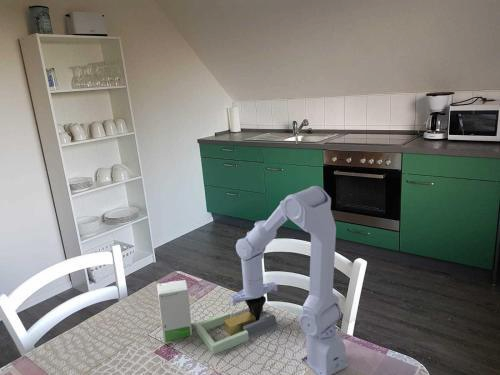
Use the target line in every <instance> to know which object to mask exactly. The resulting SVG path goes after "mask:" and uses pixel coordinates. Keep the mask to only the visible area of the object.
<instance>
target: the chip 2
mask: <svg viewBox="0 0 500 375" xmlns="http://www.w3.org/2000/svg"><path fill="white" fill-rule="evenodd" d="M237 317H238V318H239V319H240V320H241V321H242V322H243V326H245V325H248V324H251V323H253V322H256V318H255V317H254V316H253V315H252V314H251V313H250V312H249V311H247V312H245V313H242V314H239V315H237Z"/></svg>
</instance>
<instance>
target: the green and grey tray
mask: <svg viewBox="0 0 500 375" xmlns="http://www.w3.org/2000/svg"><path fill="white" fill-rule="evenodd" d="M247 311H249V312H250V309H249V307H248V308H245V309H242V310H239V311H237V312H234V313H232V314H231V312H229V311H226V312H224V313H221V314H219V315H216V316H213V317H211V318H207V319H205V320H202V321H200V322H197V323H195V324H194V325H195V332H196V333H197V335H198V336H199V338H200V339H201V340H202V341H203V343H204V345H206V347H207V348H208V350H209V351H210V352H211V354H212V355H217V354H219V353H221V352H223V351H225V350H228V349H231V348H233V347H235V346H238V345H240V344H243V343H245V342H247V341H250V340H253V339H255V338H257V337H260V336H263V335H264V334H267V333H269V332H272V331H274V330H277V329H280V326H279V325H278V324H277V317H276V315H275V314H271V315H266V313H264V306H263V307H262V310H261V314H260V319H259V320H258V321H256V322H253V323H251V324H248V325H245V326H243V331H242V332H240V333H237V334H235V335H232V336H230V335H229V336H227V337H225V338H223V339H220V340H218V341H215V340H214V339H213V338H212V337H211V335H210V334H209V333H208V331H209V330H210V329H214V328H216V327H219V326H222V325H224V320H226V319H228V318H231V317H233V316H237V315H239V314H242V313H245V312H247ZM250 313H251V312H250Z"/></svg>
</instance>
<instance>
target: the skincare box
mask: <svg viewBox="0 0 500 375" xmlns="http://www.w3.org/2000/svg"><path fill="white" fill-rule="evenodd" d="M156 290H157V299H158V307H159V316H160V323H161V324H160V325H161V333H162V339H163V345H169V344H172V343H173V342H172V341H173V340H178V339H182V338H186V337H189V336H190V337H191V336H193V330H192V329H193V328H192V327H193V326H192V319H191V311H190V310H191V308H190V299H189V289H188V284H187V280H186V279H184V280H175V281H168V282H164V283H157V284H156Z"/></svg>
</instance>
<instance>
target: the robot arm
mask: <svg viewBox="0 0 500 375" xmlns="http://www.w3.org/2000/svg"><path fill="white" fill-rule="evenodd" d="M331 205H332V197H330V195H329V194H328V193H327V192H326V191H325V189H324V188H322V187H320V186H318V185H312V186H309V188H306V189H303V190H301V191H298V192H296V193H293V194H288V195H287V196H286V197H285V198H284V199H282V200H281V201H280V202H279V205H278V206H277V208H275V210H273V212H272V213H271V215H270V216H269V217H268V218H267V219H266V220H258V221H255V223H254V227H253V228H252V229H251V230H249V231H247V233H246V236H245V237H243V238H240V239H237V242H236V244H235V250H236V254H237V256H239V258H241V259H240V261H241V272H242V285H243V289H241V290H240V291H238V292H237V293H235V294H233V295H231V296H229V304H231V306H233V307H234V306H236V305H237V304H239V303H241V302H245V303H246V305H247V307H248V308H249V309H250V312H251V314H252V315H253V316H254V317H255V318H256V321H258V320H259V319H260V314H261V310H262V307H263V308H264V305H265V303H266V302H267V298H266V296H265V295H266V294H268V293H269V292H272V291H273V292H276V291H278V284H277V283H275V281H272V282H268V283H267V282H266V283H264V271H263V259H264V254H265V253H264V252H265V251H266V249H267V246H268V245H269V244H270V243H272V241H273V240H274V239H275V238H276V237H277V230H278V229H279V228H280V227H281V226H283V224H284V223H286V222H287V221H288V220H290V221H291V222H293V223H294V224H295V225H297V226H298V227H299V228H301V229H302V230H303V231H304V232H306V233H309V234H310V261H309V289H308V290H309V291H308V296H307V298H306V299H305V301H304V303H303V305H302V310H301V313H300V315H299V317H298V318H299V320H298V321H299V326H300V327H301V329H302V331H303V332H304V334H305V335H306V336H305V339H306V356H305V357H303V358H301V360H302V361H303V362H304V363H305V364H306V365H307V366H309V368H311V369H312V370H313V371H314V373H316V374H317V375H334V374H336V373H337V372H340V371H342V370H344V369H345V368H347V367H349V364H348V363H347V362H346V345H345V343H344V341H343V340H342V339H341V338H340V337H339V335H338V333H337V325H338V324H337V322H338V321H339V320H340V319H341V318H342V309H341V306H340V302H339V300H340V298H339V296H338V295H336V294H335V293H334V273H335V272H334V271H335V259H336V258H335V254H336V253H335V252H336V241H337V240H336V239H337V238H336V237H337V236H336V235H337V234H336V233H337V226H336V223H335V218H334V216H333V213H332V210H331Z"/></svg>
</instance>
